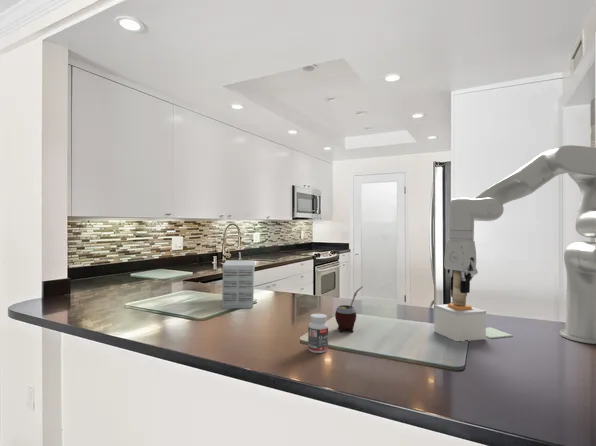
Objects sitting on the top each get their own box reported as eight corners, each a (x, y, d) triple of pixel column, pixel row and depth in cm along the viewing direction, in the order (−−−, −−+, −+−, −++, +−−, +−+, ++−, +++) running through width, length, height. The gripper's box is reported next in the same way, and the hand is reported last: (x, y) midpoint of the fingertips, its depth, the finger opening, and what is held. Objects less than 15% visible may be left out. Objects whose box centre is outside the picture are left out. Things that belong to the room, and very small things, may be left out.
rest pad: (490, 328, 129) (490, 327, 129) (512, 336, 120) (512, 335, 120) (469, 330, 126) (469, 329, 126) (490, 338, 117) (490, 337, 117)
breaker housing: (460, 329, 127) (461, 303, 127) (485, 339, 117) (486, 311, 117) (434, 331, 124) (434, 305, 124) (457, 342, 114) (457, 313, 114)
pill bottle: (321, 355, 101) (322, 319, 101) (304, 350, 104) (304, 316, 104) (331, 349, 106) (331, 314, 106) (314, 345, 109) (314, 311, 109)
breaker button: (460, 311, 124) (460, 302, 124) (471, 315, 119) (471, 306, 119) (448, 312, 122) (448, 303, 122) (458, 316, 117) (458, 307, 117)
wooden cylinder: (459, 302, 123) (460, 269, 123) (468, 304, 119) (469, 271, 119) (449, 302, 122) (450, 269, 122) (458, 305, 118) (459, 271, 118)
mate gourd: (330, 330, 123) (331, 286, 123) (344, 325, 129) (345, 283, 129) (349, 335, 118) (350, 289, 118) (362, 330, 124) (363, 286, 124)
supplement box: (224, 299, 168) (225, 260, 167) (254, 299, 169) (254, 260, 169) (221, 308, 150) (221, 264, 150) (253, 308, 152) (254, 265, 152)
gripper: (434, 234, 127) (433, 287, 127) (470, 237, 111) (469, 297, 111) (452, 234, 129) (451, 286, 129) (490, 237, 113) (489, 296, 113)
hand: (459, 290), depth 120 cm, fingers closed on wooden cylinder, 4 cm apart
